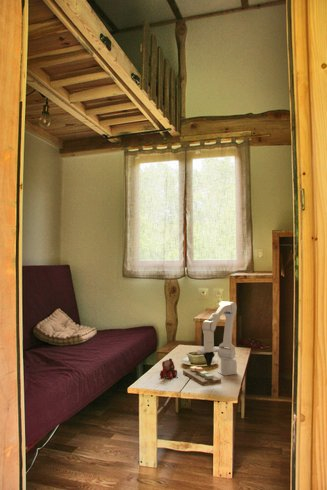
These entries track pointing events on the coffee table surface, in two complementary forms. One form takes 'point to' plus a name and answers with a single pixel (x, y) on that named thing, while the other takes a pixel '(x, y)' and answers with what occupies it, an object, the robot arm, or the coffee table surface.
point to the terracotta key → (198, 369)
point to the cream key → (192, 368)
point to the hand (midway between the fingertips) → (208, 365)
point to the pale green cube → (203, 373)
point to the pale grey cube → (208, 376)
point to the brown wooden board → (201, 379)
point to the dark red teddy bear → (168, 369)
